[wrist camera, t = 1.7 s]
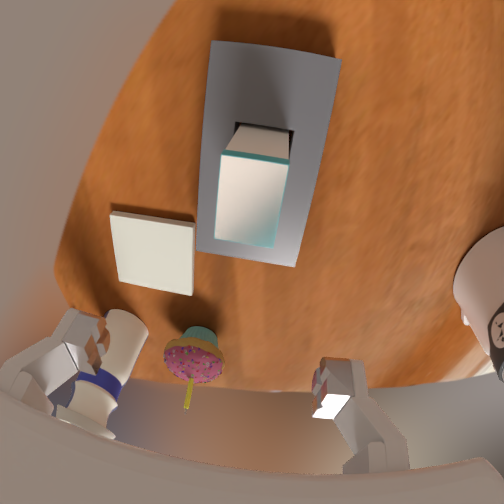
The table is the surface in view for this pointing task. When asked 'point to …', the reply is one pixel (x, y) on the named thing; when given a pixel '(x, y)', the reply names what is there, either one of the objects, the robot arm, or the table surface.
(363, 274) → the table surface
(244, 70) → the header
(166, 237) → the mat
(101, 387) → the water bottle
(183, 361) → the cupcake
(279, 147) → the plug
